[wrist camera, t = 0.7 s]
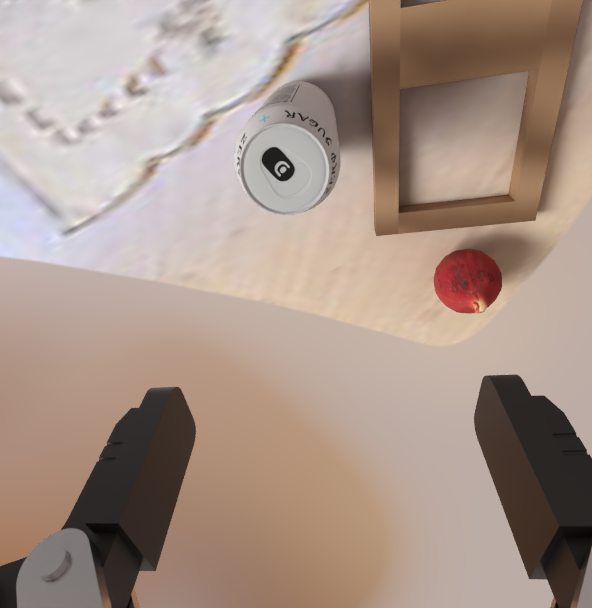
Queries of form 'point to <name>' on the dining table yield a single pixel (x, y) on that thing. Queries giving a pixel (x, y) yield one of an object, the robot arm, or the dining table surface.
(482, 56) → the wooden frame
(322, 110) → the energy drink can
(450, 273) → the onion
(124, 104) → the dining table surface
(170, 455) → the robot arm
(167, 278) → the dining table surface
